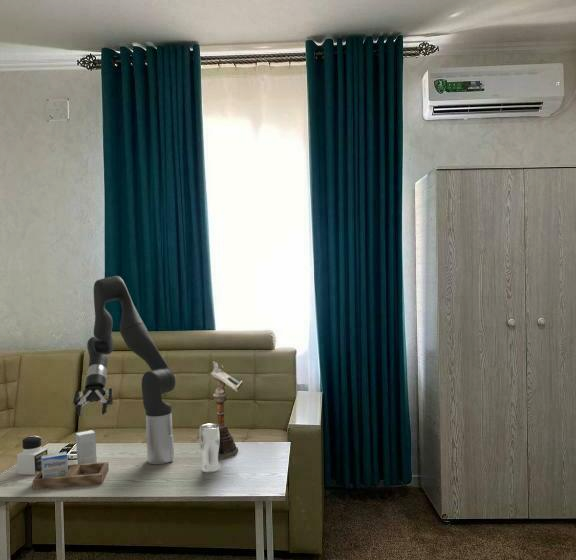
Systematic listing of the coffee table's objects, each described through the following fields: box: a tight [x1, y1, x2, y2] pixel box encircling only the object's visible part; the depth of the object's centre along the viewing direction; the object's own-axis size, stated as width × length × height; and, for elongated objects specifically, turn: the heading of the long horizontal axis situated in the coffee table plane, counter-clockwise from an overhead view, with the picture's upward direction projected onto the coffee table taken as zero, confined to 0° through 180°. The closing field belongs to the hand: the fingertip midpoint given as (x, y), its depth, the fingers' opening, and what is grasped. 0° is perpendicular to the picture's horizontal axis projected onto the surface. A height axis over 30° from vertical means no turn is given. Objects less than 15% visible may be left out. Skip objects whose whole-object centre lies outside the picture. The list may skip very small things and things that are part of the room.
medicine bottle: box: [16, 435, 49, 476], centre depth 194 cm, size 7×7×12 cm
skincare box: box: [75, 429, 98, 464], centre depth 197 cm, size 6×4×12 cm
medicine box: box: [41, 451, 69, 478], centre depth 183 cm, size 8×4×9 cm, turn 117°
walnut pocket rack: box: [32, 461, 110, 491], centre depth 184 cm, size 21×12×3 cm, turn 99°
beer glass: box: [198, 423, 221, 474], centre depth 189 cm, size 7×7×15 cm
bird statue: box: [209, 361, 243, 460], centre depth 206 cm, size 17×13×35 cm
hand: (91, 414), depth 208 cm, fingers open, 8 cm apart
